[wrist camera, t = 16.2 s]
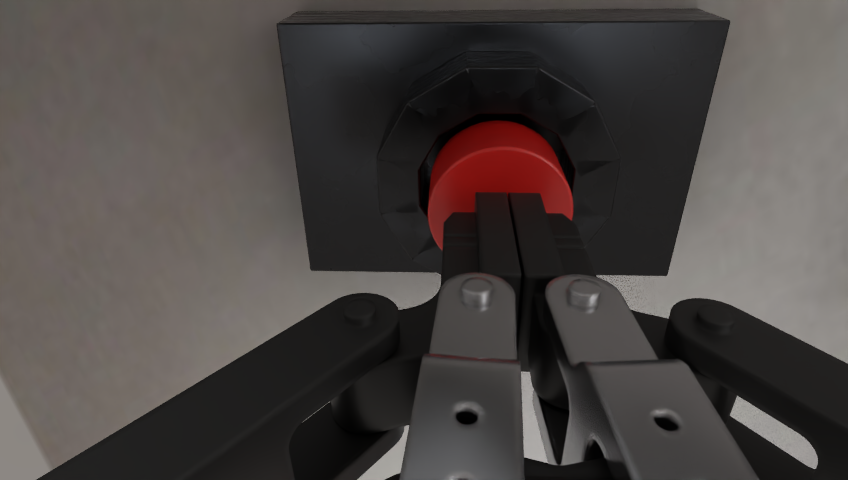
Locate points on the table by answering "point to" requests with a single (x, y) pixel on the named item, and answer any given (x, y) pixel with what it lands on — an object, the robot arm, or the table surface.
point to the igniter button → (494, 171)
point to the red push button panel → (496, 100)
